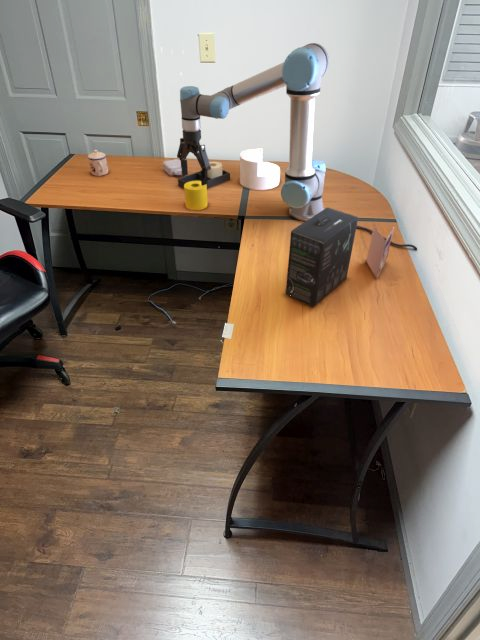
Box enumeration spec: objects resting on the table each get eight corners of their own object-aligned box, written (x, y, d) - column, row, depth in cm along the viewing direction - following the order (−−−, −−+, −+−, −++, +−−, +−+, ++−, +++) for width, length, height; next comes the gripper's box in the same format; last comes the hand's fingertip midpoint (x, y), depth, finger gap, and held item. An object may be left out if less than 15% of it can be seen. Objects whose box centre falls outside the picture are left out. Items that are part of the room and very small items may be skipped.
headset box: (318, 266, 159) (328, 200, 143) (347, 278, 154) (361, 210, 137) (283, 295, 146) (289, 225, 129) (314, 309, 140) (324, 238, 124)
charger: (174, 180, 220) (163, 170, 230) (190, 177, 224) (179, 167, 234) (173, 171, 217) (162, 161, 227) (190, 167, 220) (178, 158, 230)
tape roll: (207, 200, 202) (206, 180, 196) (207, 209, 195) (206, 189, 189) (186, 200, 202) (184, 180, 196) (184, 210, 194) (183, 190, 188)
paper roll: (226, 178, 220) (225, 164, 216) (212, 183, 216) (211, 169, 211) (214, 173, 226) (213, 160, 221) (200, 178, 221) (199, 164, 216)
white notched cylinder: (277, 191, 210) (279, 163, 202) (236, 188, 213) (236, 161, 204) (281, 175, 225) (282, 149, 217) (243, 172, 228) (243, 147, 219)
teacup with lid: (89, 171, 229) (84, 149, 221) (106, 168, 232) (102, 146, 225) (95, 179, 221) (90, 156, 213) (112, 176, 224) (108, 153, 217)
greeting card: (379, 279, 153) (388, 241, 144) (358, 273, 156) (366, 236, 146) (387, 263, 161) (396, 227, 151) (367, 258, 164) (375, 222, 154)
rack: (230, 179, 221) (230, 172, 218) (193, 193, 208) (193, 186, 206) (214, 173, 227) (214, 166, 225) (178, 185, 215) (177, 178, 213)
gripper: (218, 134, 172) (219, 186, 186) (180, 120, 186) (183, 169, 200) (204, 138, 168) (206, 191, 182) (166, 124, 182) (170, 173, 196)
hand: (194, 179), depth 191 cm, fingers open, 13 cm apart
